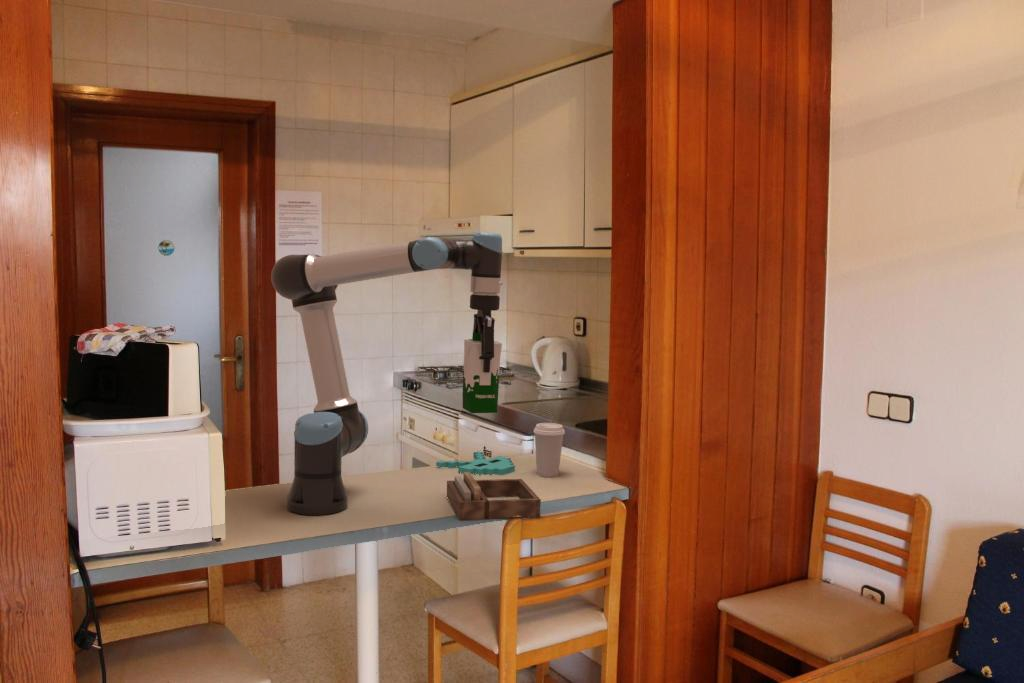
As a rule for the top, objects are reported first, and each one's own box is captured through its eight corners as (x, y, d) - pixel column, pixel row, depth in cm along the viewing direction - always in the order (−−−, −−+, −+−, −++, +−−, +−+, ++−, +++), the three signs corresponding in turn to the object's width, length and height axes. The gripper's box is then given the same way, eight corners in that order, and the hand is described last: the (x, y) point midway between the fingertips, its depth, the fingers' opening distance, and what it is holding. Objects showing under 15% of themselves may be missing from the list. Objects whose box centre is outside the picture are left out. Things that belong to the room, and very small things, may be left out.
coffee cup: (526, 471, 266) (528, 423, 264) (555, 469, 270) (556, 421, 268) (539, 479, 257) (541, 429, 256) (568, 477, 261) (570, 427, 259)
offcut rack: (459, 520, 216) (459, 502, 215) (446, 497, 235) (447, 480, 235) (540, 517, 220) (540, 499, 220) (520, 494, 240) (521, 478, 240)
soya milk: (489, 407, 230) (493, 331, 228) (502, 413, 222) (506, 335, 220) (457, 407, 227) (461, 331, 225) (469, 414, 219) (473, 335, 217)
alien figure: (436, 468, 267) (487, 481, 255) (436, 461, 267) (487, 473, 255) (477, 457, 283) (527, 468, 271) (477, 451, 283) (527, 461, 271)
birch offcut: (473, 517, 219) (474, 488, 218) (462, 499, 234) (463, 472, 233) (479, 517, 219) (480, 488, 218) (468, 499, 235) (469, 472, 234)
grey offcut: (464, 518, 218) (465, 492, 218) (453, 499, 234) (454, 476, 233) (470, 517, 219) (471, 492, 218) (459, 499, 234) (460, 475, 233)
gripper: (509, 297, 212) (504, 389, 214) (490, 292, 233) (486, 375, 235) (479, 296, 210) (474, 388, 212) (462, 291, 231) (458, 375, 233)
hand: (480, 381), depth 224 cm, fingers closed on soya milk, 9 cm apart
